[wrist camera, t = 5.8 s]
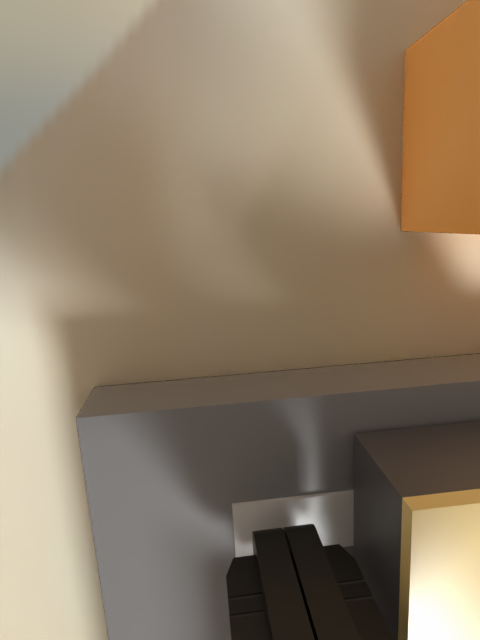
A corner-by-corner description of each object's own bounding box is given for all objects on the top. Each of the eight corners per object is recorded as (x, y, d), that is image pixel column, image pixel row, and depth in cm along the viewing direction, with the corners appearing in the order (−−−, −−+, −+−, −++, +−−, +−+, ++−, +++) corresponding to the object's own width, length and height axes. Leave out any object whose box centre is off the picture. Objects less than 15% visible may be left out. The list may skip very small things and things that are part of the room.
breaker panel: (683, 335, 14) (793, 361, 11) (622, 688, 17) (697, 771, 14) (94, 387, 12) (68, 430, 10) (146, 765, 15) (136, 872, 13)
